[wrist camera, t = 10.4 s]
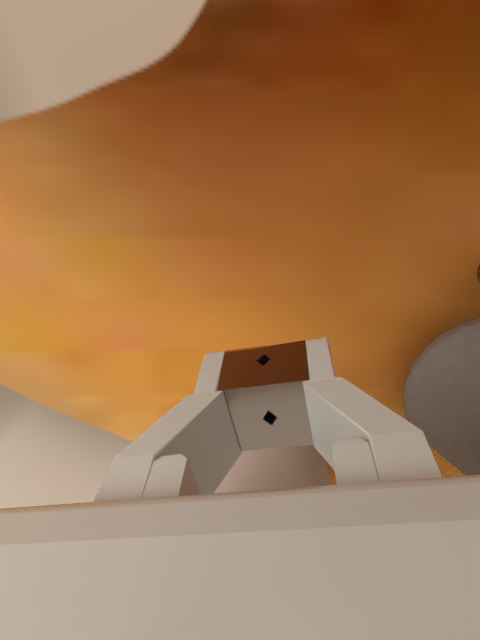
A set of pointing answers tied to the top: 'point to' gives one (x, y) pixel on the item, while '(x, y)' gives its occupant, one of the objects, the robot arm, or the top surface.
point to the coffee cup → (276, 470)
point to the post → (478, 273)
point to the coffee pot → (449, 395)
